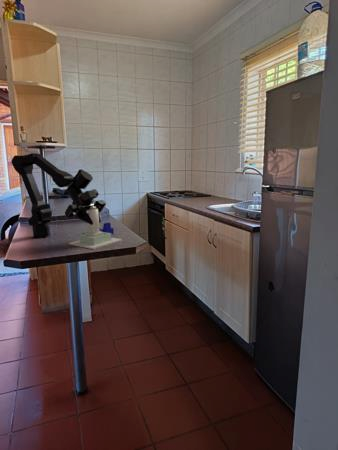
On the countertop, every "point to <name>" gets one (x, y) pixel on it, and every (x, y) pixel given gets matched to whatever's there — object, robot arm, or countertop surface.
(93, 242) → the end holder
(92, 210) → the connector plug
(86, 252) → the countertop surface
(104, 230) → the cable clip
